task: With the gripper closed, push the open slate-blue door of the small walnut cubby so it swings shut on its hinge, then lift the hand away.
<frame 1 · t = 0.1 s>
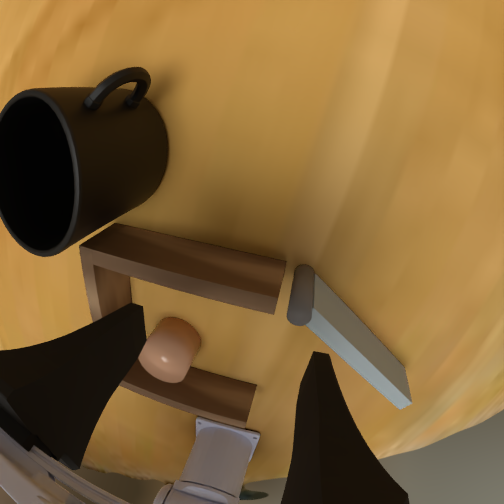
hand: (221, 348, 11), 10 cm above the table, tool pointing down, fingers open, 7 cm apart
mug: (127, 137, 19), on the table
cubby: (188, 319, 25), on the table
door: (360, 348, 19), point 3 cm above the table, hinge at 55.0°
tan rounded cylinder: (178, 336, 26), resting in cubby
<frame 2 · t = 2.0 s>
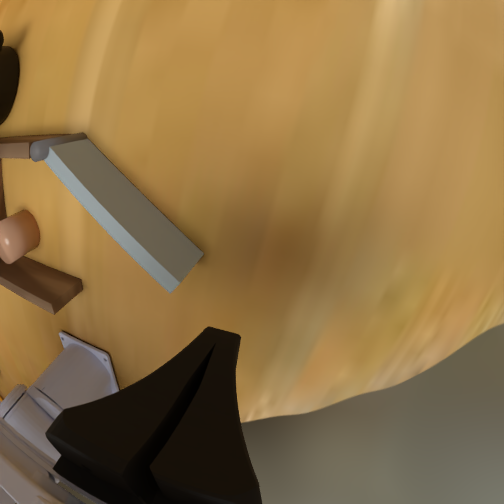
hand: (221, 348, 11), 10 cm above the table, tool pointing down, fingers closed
mug: (5, 77, 18), on the table
cubby: (29, 208, 23), on the table
door: (111, 201, 18), point 2 cm above the table, hinge at 55.0°
tan rounded cylinder: (28, 229, 25), resting in cubby
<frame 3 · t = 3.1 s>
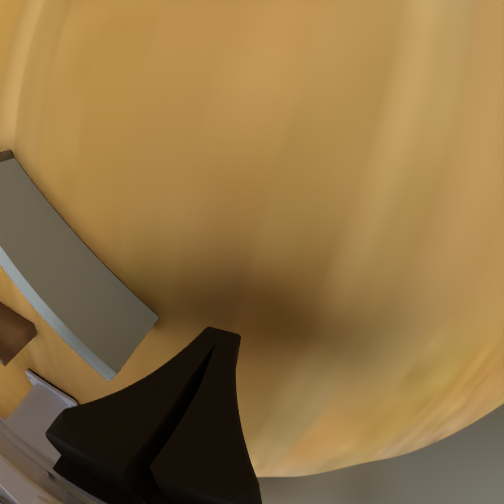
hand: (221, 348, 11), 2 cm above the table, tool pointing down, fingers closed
door: (30, 249, 11), point 2 cm above the table, hinge at 55.0°
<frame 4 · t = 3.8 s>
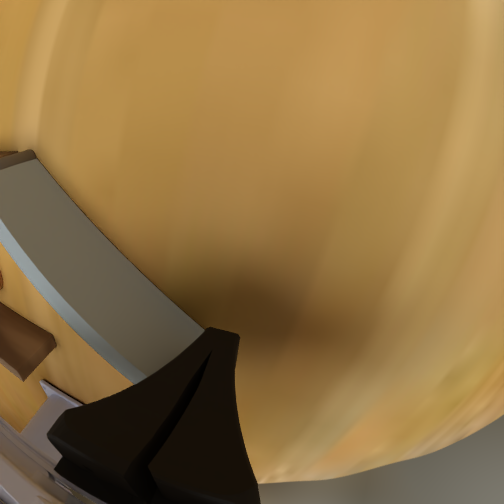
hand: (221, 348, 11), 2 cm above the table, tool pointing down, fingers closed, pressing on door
door: (63, 261, 11), point 3 cm above the table, hinge at 55.0°, touching gripper
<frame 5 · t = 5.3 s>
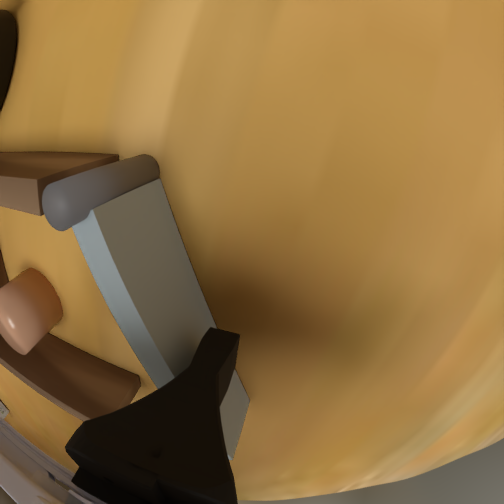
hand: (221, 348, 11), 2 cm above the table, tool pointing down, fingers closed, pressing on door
cubby: (42, 269, 15), on the table
door: (173, 339, 11), point 2 cm above the table, hinge at 23.8°, touching gripper
tan rounded cylinder: (42, 295, 17), resting in cubby
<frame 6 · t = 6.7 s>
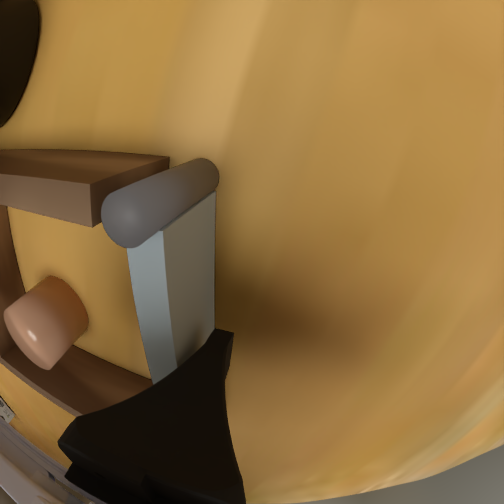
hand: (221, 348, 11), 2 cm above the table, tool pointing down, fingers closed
mug: (11, 45, 9), on the table
cubby: (66, 277, 15), on the table
door: (181, 350, 11), point 2 cm above the table, hinge at 4.0°, touching gripper
tan rounded cylinder: (64, 305, 16), resting in cubby
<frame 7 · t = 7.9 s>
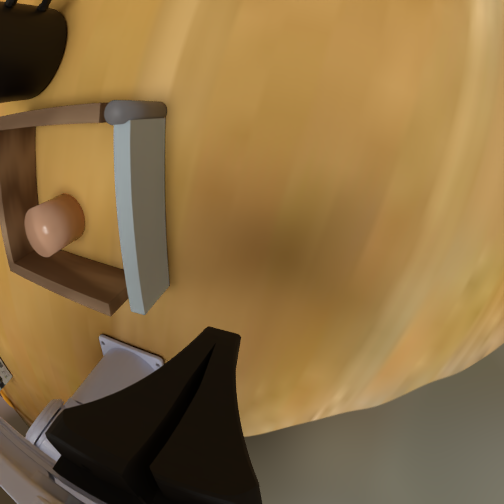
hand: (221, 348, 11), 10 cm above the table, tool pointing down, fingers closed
mug: (45, 43, 16), on the table
cubby: (73, 192, 22), on the table
door: (139, 210, 18), point 2 cm above the table, hinge at 4.0°
tan rounded cylinder: (68, 216, 23), resting in cubby
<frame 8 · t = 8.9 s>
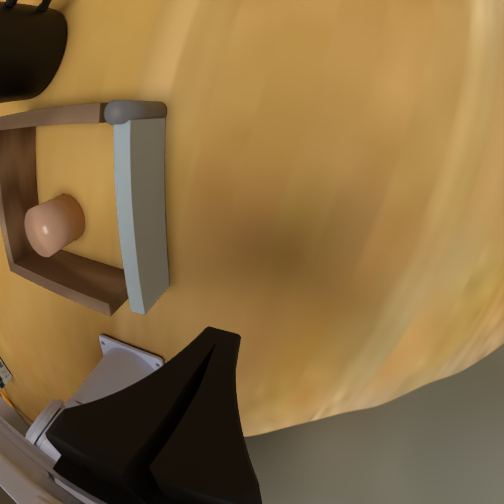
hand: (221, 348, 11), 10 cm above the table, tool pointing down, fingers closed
mug: (45, 43, 16), on the table
cubby: (73, 192, 22), on the table
door: (139, 210, 18), point 2 cm above the table, hinge at 4.0°
tan rounded cylinder: (68, 216, 23), resting in cubby
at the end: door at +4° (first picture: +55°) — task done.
